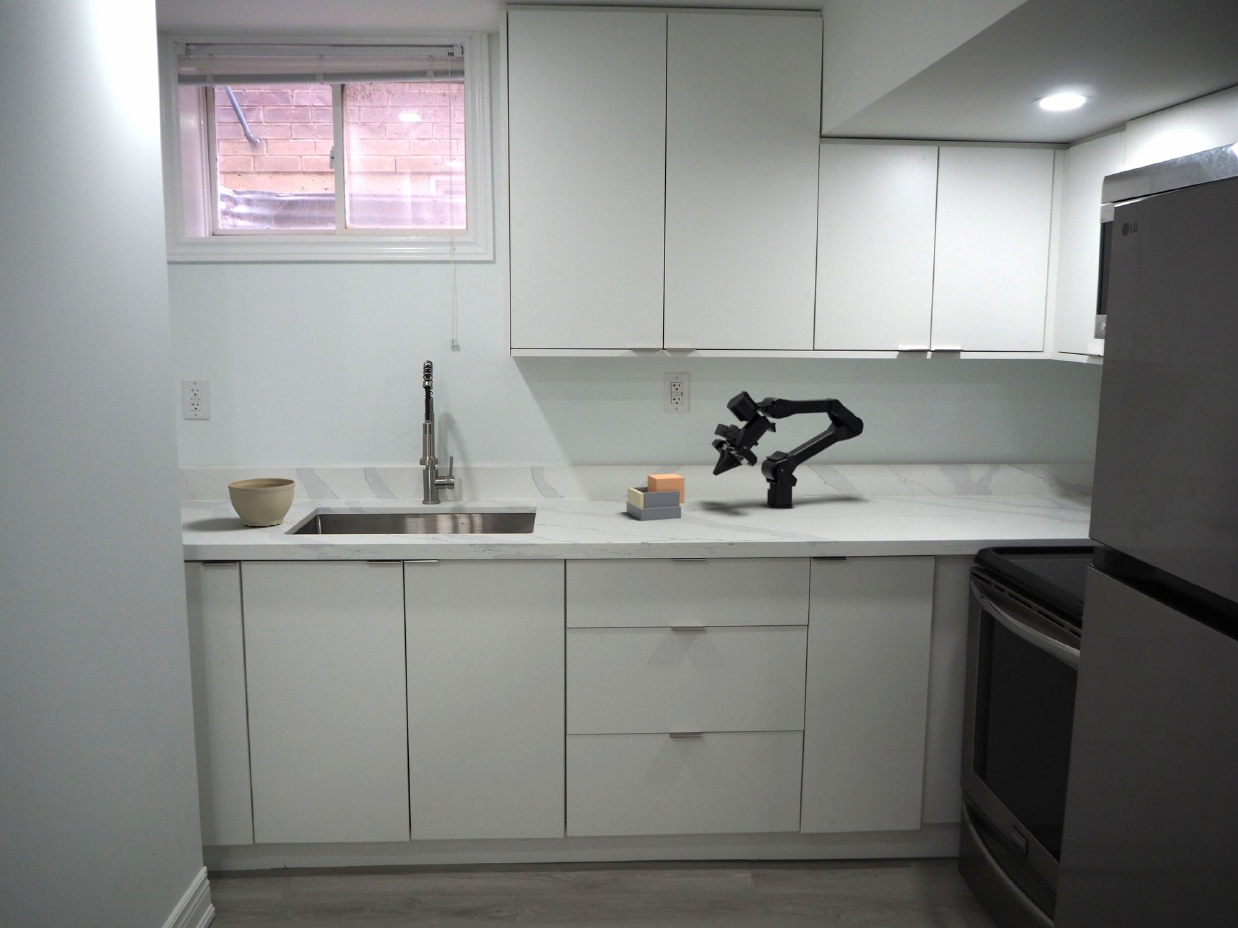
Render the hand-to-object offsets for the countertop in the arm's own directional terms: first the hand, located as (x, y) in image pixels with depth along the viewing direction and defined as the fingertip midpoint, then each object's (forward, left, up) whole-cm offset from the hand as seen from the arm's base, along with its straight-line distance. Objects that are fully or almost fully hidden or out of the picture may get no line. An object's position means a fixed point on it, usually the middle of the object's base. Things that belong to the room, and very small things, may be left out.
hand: (714, 474), depth 256 cm
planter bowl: (+115, +30, -10) cm, 120 cm away
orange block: (+13, +6, -7) cm, 16 cm away
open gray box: (+16, +7, -10) cm, 20 cm away
